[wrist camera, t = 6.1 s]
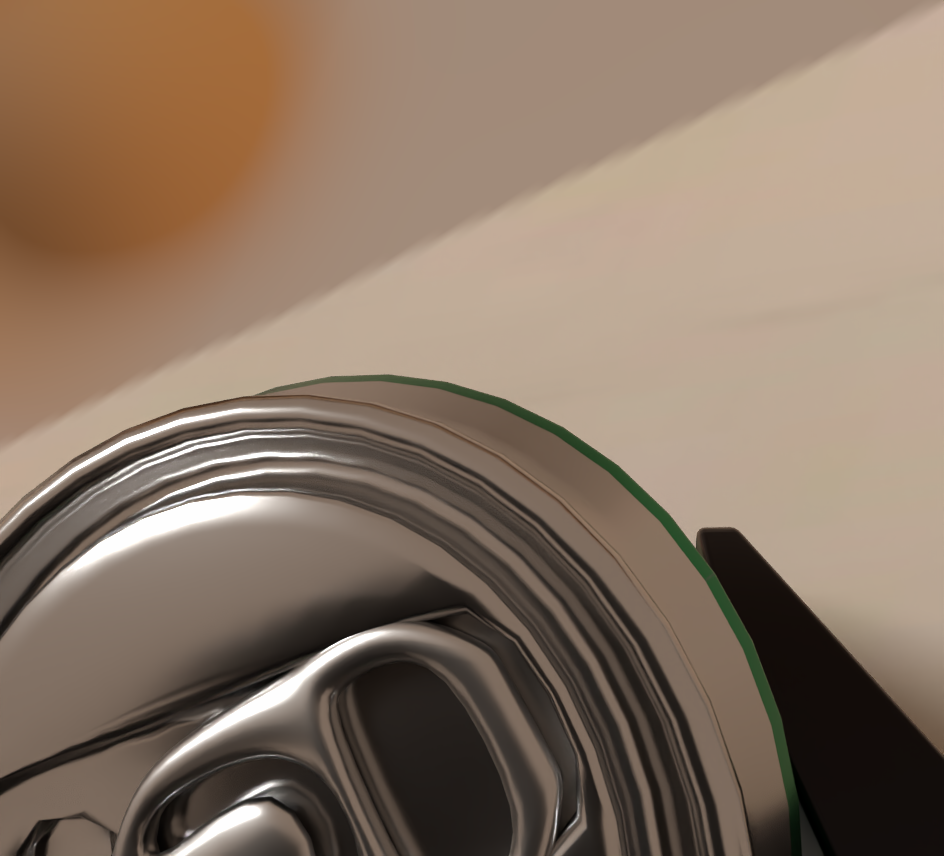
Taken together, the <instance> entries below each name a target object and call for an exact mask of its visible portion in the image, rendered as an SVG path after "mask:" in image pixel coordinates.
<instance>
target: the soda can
mask: <svg viewBox="0 0 944 856" xmlns="http://www.w3.org/2000/svg"><path fill="white" fill-rule="evenodd" d="M0 856H802V845H801V828H800V811H799V798H798V793H797V789H796V784H795V779H794V775H793V770H792V765H791V761H790V756H789V751H788V746H787V742H786V737H785V732H784V728H783V723H782V718H781V715H780V713H779V710H778V707H777V705H776V702H775V699H774V697H773V694H772V691H771V689H770V686H769V683H768V681H767V678H766V675H765V673H764V670H763V667H762V665H761V662H760V659H759V657H758V654H757V651H756V649H755V646H754V644H753V641H752V639H751V637H750V636H749V634H748V632H747V630H746V628H745V627H744V625H743V623H742V621H741V619H740V618H739V616H738V614H737V612H736V610H735V609H734V607H733V605H732V603H731V601H730V600H729V598H728V596H727V594H726V592H725V591H724V589H723V587H722V585H721V583H720V582H719V580H718V578H717V576H716V574H715V573H714V571H713V570H712V569H711V568H710V566H709V565H708V564H707V562H706V561H705V560H704V558H703V557H702V556H701V555H700V553H699V552H698V551H697V549H696V548H695V547H694V546H693V544H692V543H691V542H690V540H689V539H688V538H687V536H686V535H685V534H684V533H683V531H682V530H681V529H680V527H679V526H678V525H677V524H676V522H675V521H674V520H673V518H672V517H671V516H670V514H669V513H667V512H666V511H665V510H664V509H663V508H662V507H661V506H660V505H659V504H658V503H657V502H656V501H655V500H654V499H653V498H652V497H651V496H650V495H649V494H648V493H647V492H645V491H644V490H643V489H642V488H641V487H640V486H639V485H638V484H637V483H636V482H635V481H634V480H633V479H632V478H631V477H630V476H629V475H628V474H627V473H626V472H625V471H623V470H622V469H621V468H620V467H619V466H618V465H617V464H615V463H614V462H612V461H611V460H610V459H608V458H607V457H605V456H604V455H602V454H601V453H599V452H598V451H597V450H595V449H594V448H592V447H591V446H589V445H588V444H586V443H585V442H584V441H582V440H581V439H579V438H578V437H576V436H575V435H573V434H572V433H571V432H569V431H568V430H566V429H565V428H563V427H561V426H559V425H557V424H555V423H553V422H551V421H549V420H547V419H545V418H543V417H541V416H539V415H537V414H535V413H533V412H530V411H528V410H526V409H524V408H522V407H520V406H518V405H516V404H514V403H512V402H510V401H508V400H506V399H502V398H499V397H496V396H492V395H489V394H486V393H482V392H479V391H475V390H472V389H469V388H465V387H462V386H459V385H455V384H452V383H448V382H443V381H435V380H427V379H420V378H412V377H404V376H396V375H389V374H388V375H359V376H331V377H326V378H321V379H316V380H311V381H305V382H300V383H295V384H290V385H285V386H280V387H275V388H273V389H270V390H267V391H264V392H262V393H259V394H256V395H254V396H245V397H239V398H234V399H229V400H223V401H218V402H213V403H208V404H203V405H198V406H193V407H188V408H183V409H180V410H177V411H175V412H172V413H169V414H167V415H164V416H161V417H158V418H156V419H153V420H150V421H148V422H145V423H142V424H139V425H137V426H134V427H131V428H129V429H126V430H124V431H122V432H121V433H119V434H117V435H115V436H113V437H112V438H110V439H108V440H106V441H104V442H103V443H101V444H99V445H97V446H95V447H94V448H92V449H90V450H88V451H86V452H85V453H83V454H81V455H79V456H77V457H76V458H74V459H72V460H71V461H69V462H68V463H67V464H66V465H64V466H63V467H62V468H60V469H59V470H58V471H56V472H55V473H54V474H53V475H51V476H50V477H49V478H47V479H46V480H45V481H43V482H42V483H41V484H39V485H38V486H37V487H36V488H34V489H33V490H32V491H30V492H29V493H28V494H26V495H25V496H24V497H23V498H22V499H21V500H20V501H19V502H18V503H17V504H16V505H15V506H14V507H13V508H12V509H11V510H10V511H9V512H8V513H7V514H6V515H5V516H4V517H3V518H2V519H1V520H0Z"/></svg>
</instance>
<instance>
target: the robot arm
mask: <svg viewBox="0 0 944 856" xmlns="http://www.w3.org/2000/svg"><path fill="white" fill-rule="evenodd" d="M696 549H697V551H698V552H699V553H700V555H701V556H702V557H703V558H704V560H705V561H706V562H707V564H708V565H709V566H710V568H711V569H712V570H713V571H714V573H715V574H716V576H717V578H718V580H719V582H720V583H721V585H722V587H723V589H724V591H725V592H726V594H727V596H728V598H729V600H730V601H731V603H732V605H733V607H734V609H735V610H736V612H737V614H738V616H739V618H740V619H741V621H742V623H743V625H744V627H745V628H746V630H747V632H748V634H749V636H750V637H751V639H752V641H753V644H754V646H755V649H756V651H757V654H758V657H759V659H760V662H761V665H762V667H763V670H764V673H765V675H766V678H767V681H768V683H769V686H770V689H771V691H772V694H773V697H774V699H775V702H776V705H777V707H778V710H779V713H780V715H781V718H782V723H783V728H784V732H785V737H786V742H787V746H788V751H789V756H790V761H791V765H792V770H793V775H794V779H795V784H796V789H797V793H798V798H799V811H800V828H801V845H802V856H944V756H943V755H942V754H941V752H940V751H939V750H938V749H937V748H936V747H935V746H934V745H933V744H932V743H931V741H930V740H929V739H928V738H927V737H926V736H925V735H924V734H923V733H922V732H921V730H920V729H919V728H918V727H917V726H916V725H915V724H914V723H913V722H912V721H911V719H910V718H909V717H908V716H907V715H906V714H905V713H904V712H903V711H902V710H901V708H900V707H899V706H898V705H897V704H896V703H895V702H894V701H893V700H892V699H891V697H890V696H889V695H888V694H887V693H886V692H885V691H884V690H883V689H882V688H881V686H880V685H879V684H878V683H877V682H876V681H875V680H874V679H873V678H872V677H871V675H870V674H869V673H868V672H867V671H866V670H865V669H864V668H863V667H862V666H861V664H860V663H859V662H858V661H857V660H856V659H855V658H854V657H853V656H852V655H851V653H850V652H849V651H848V650H847V649H846V648H845V647H844V646H843V645H842V644H841V642H840V641H839V640H838V639H837V638H836V637H835V636H834V635H833V634H832V633H831V631H830V630H829V629H828V628H827V627H826V626H825V625H824V624H823V623H822V622H821V620H820V619H819V618H818V617H817V616H816V615H815V614H814V613H813V612H812V611H811V609H810V608H809V607H808V606H807V605H806V604H805V603H804V602H803V601H802V600H801V598H800V597H799V596H798V595H797V594H796V593H795V592H794V591H793V590H792V589H791V587H790V586H789V585H788V584H787V583H786V582H785V581H784V580H783V579H782V578H781V576H780V575H779V574H778V573H777V572H776V571H775V570H774V569H773V568H772V567H771V565H770V564H769V563H768V562H767V561H766V560H765V559H764V558H763V557H762V556H761V554H760V553H759V552H758V551H757V550H756V549H755V548H754V547H753V546H752V545H751V543H750V542H749V541H748V540H747V539H746V538H745V537H744V536H743V535H742V534H741V532H740V531H738V530H737V529H735V528H731V527H718V528H701V529H700V530H699V531H698V533H697V538H696Z"/></svg>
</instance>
